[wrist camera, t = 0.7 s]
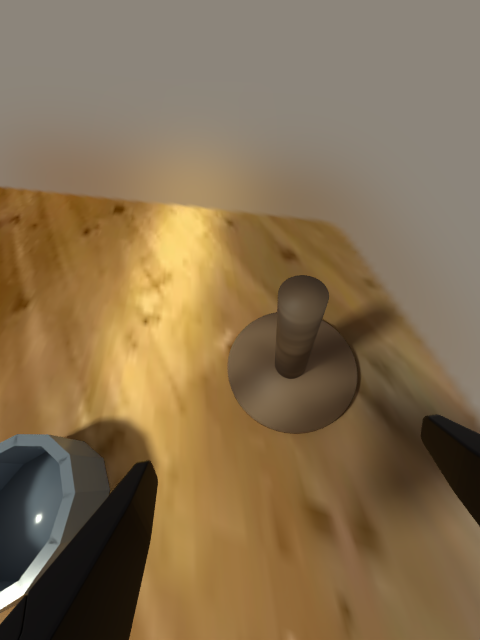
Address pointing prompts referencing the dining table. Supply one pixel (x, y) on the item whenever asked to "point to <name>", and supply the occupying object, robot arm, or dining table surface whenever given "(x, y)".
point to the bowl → (43, 505)
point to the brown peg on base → (293, 363)
